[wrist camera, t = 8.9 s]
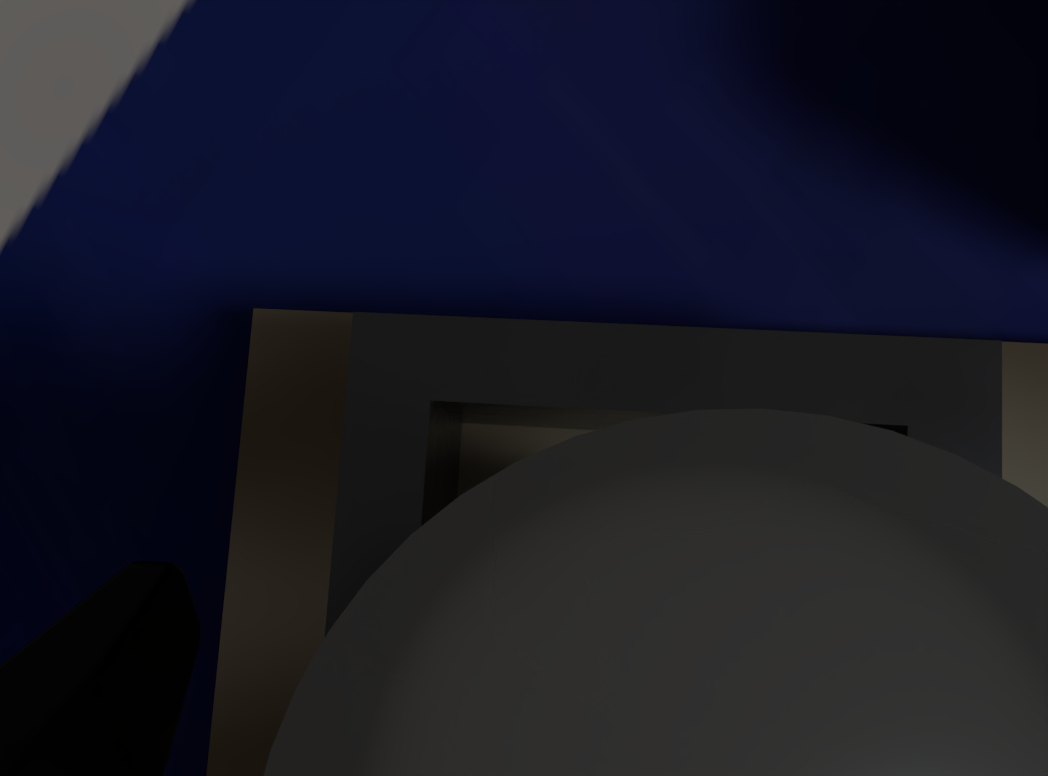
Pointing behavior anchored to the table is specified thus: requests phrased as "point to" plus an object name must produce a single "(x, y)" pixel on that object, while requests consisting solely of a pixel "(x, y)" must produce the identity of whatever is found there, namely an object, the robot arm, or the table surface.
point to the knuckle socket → (613, 400)
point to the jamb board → (311, 492)
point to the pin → (698, 615)
